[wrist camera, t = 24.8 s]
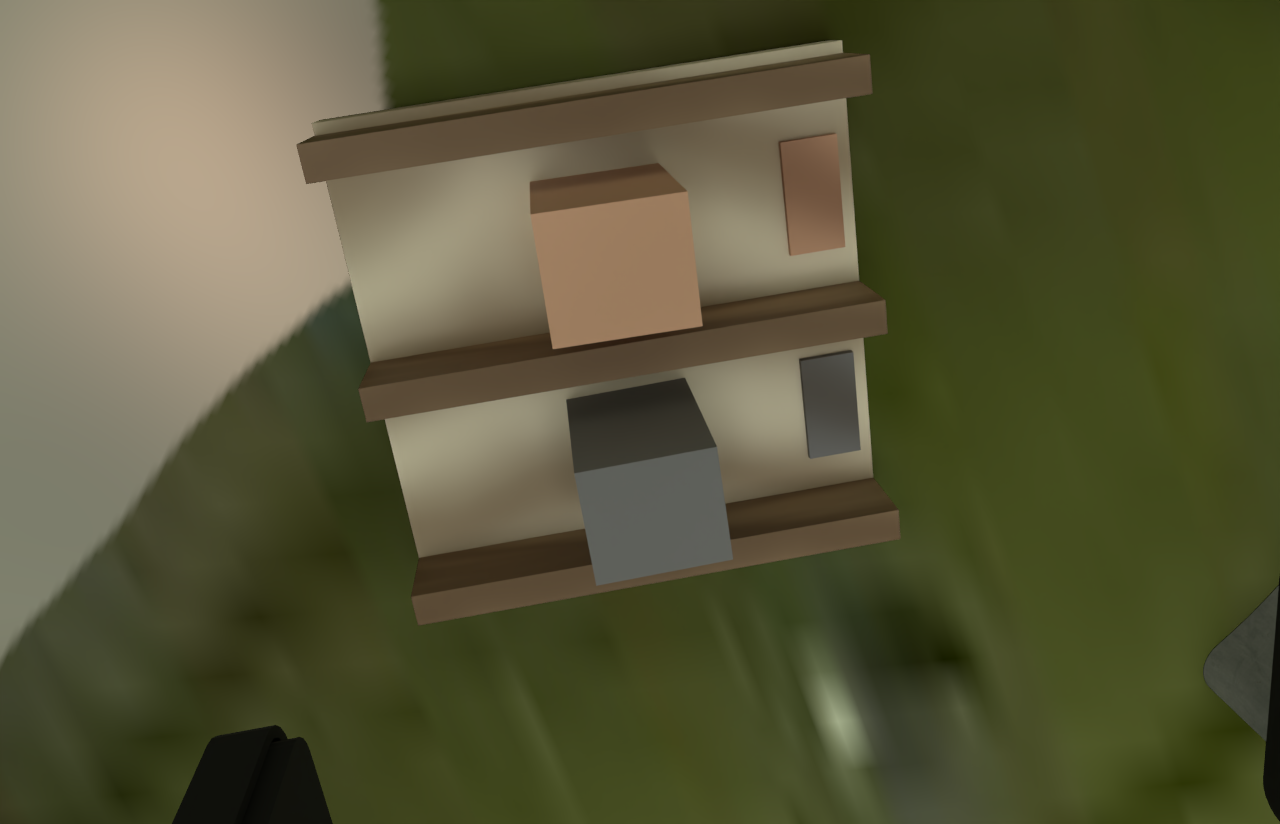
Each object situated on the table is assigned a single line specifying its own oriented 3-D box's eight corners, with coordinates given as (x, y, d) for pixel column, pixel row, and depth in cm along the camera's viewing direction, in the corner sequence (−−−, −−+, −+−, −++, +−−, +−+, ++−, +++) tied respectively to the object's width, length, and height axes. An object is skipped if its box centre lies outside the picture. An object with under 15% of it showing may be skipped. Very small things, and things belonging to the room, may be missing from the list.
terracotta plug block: (671, 275, 38) (702, 326, 31) (547, 294, 37) (552, 349, 31) (658, 162, 36) (687, 191, 30) (529, 181, 36) (530, 214, 29)
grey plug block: (699, 474, 40) (733, 559, 34) (584, 496, 40) (596, 586, 34) (684, 377, 39) (717, 446, 32) (566, 399, 39) (574, 473, 32)
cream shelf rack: (864, 498, 43) (901, 548, 39) (431, 575, 42) (420, 635, 38) (830, 40, 37) (869, 41, 33) (320, 120, 36) (292, 131, 32)
